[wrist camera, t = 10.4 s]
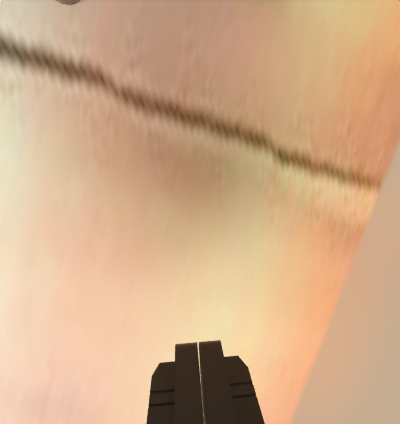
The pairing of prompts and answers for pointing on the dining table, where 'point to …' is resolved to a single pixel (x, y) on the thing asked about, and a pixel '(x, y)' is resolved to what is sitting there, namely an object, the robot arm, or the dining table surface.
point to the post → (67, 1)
